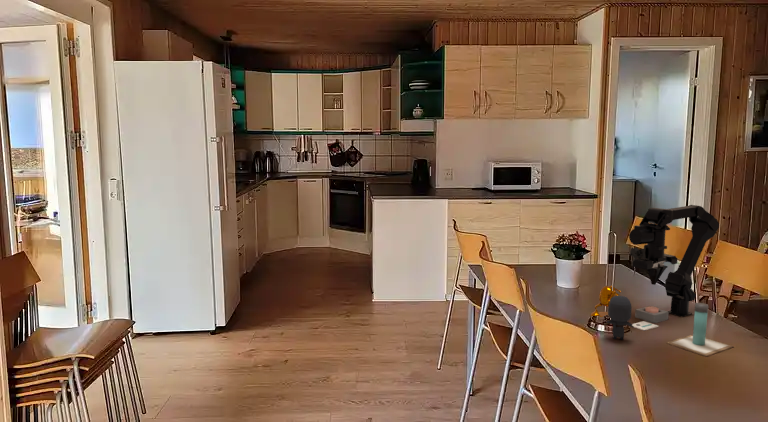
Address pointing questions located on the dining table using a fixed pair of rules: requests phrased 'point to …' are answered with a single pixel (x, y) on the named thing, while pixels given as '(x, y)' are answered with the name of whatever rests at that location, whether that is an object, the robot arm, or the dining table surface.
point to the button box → (651, 315)
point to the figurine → (605, 299)
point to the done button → (652, 309)
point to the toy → (619, 315)
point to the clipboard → (705, 350)
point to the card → (644, 325)
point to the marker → (700, 324)
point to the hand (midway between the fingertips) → (653, 284)
